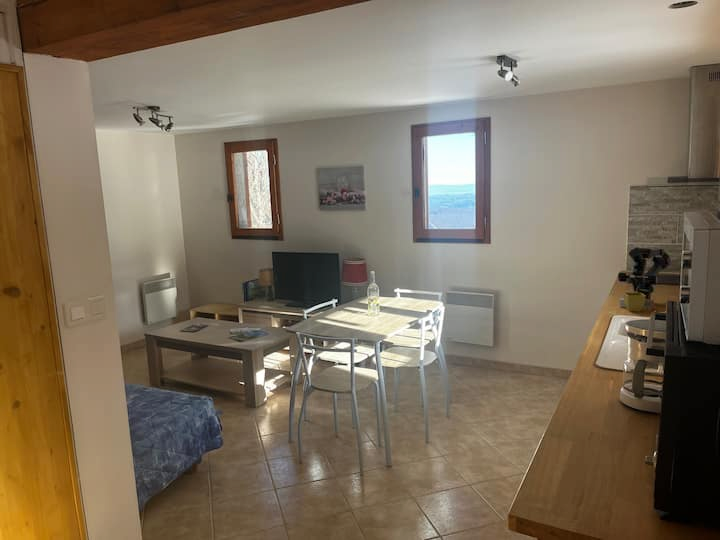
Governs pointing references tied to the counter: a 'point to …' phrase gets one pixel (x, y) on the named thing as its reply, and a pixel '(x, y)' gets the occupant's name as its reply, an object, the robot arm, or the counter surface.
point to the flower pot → (634, 301)
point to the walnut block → (648, 304)
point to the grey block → (622, 303)
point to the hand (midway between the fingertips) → (634, 291)
